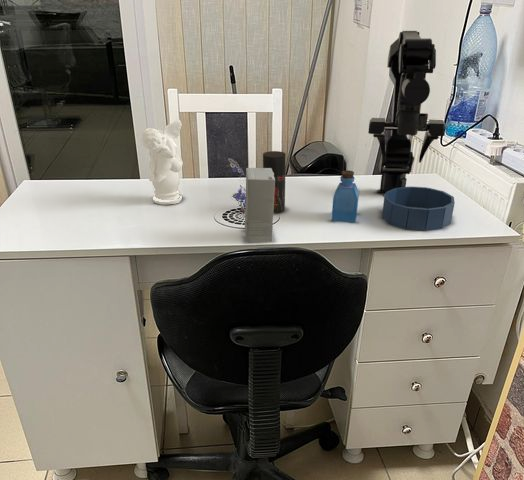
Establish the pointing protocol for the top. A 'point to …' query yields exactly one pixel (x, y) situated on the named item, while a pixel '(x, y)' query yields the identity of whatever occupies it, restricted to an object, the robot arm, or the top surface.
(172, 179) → the cherub figurine
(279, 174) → the deodorant
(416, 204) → the blue round bin
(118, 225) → the top surface
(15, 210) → the top surface
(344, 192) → the perfume bottle
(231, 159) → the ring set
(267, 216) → the cosmetic box
